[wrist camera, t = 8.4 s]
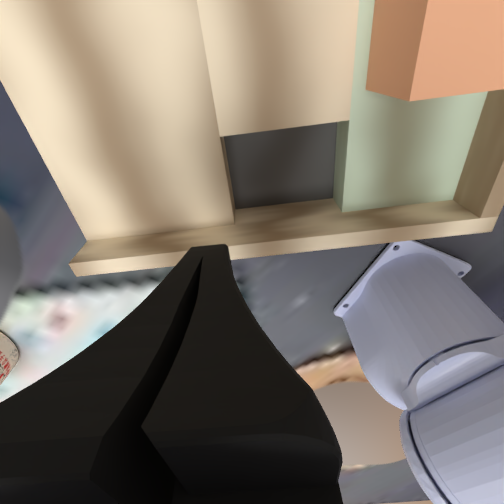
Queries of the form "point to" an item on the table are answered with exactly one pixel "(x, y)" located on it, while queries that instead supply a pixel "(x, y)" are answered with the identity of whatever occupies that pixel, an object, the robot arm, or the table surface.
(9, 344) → the teacup with lid
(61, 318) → the table surface
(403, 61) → the block
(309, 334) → the table surface
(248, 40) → the trap box
